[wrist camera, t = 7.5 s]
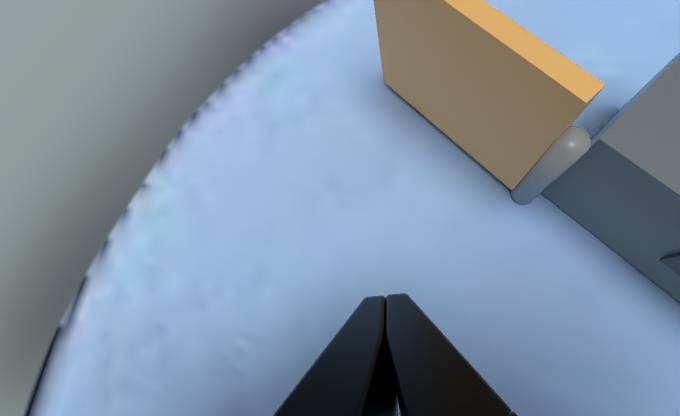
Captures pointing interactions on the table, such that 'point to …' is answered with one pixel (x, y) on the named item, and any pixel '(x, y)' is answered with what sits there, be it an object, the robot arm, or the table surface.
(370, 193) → the table surface
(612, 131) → the block
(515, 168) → the door
